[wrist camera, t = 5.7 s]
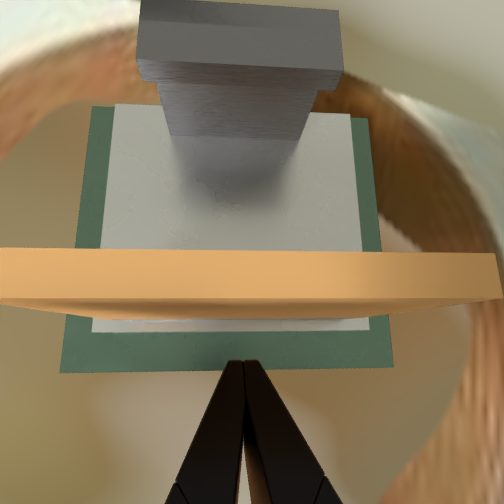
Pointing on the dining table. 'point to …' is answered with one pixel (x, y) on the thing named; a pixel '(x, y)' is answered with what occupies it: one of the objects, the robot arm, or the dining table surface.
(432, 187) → the dining table surface
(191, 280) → the tan square pad
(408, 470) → the dining table surface
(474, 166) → the dining table surface
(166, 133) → the grey and green stand
